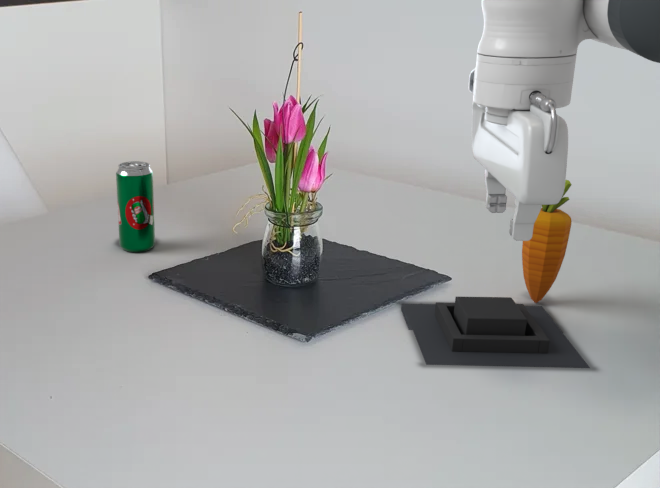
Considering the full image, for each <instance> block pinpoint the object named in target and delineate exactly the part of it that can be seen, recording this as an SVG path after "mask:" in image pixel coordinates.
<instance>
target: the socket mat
mask: <svg viewBox="0 0 660 488" xmlns="http://www.w3.org/2000/svg"><path fill="white" fill-rule="evenodd" d="M516 305H517V306H518V307H519V309H520V310H521V312H522V313H523V314H524V316H525V317H526V319H527V324H526V330H525V336H502V335H461V333H460V331H459V329H458V328H457V326H456V324H455V322H454V320H453V316H454V307H455V302H435V303H401V306H400V310H401V312H402V315H403V318H404V320H405V323H406V326H407V328H408V330H409V331H412V332H413V335H414V337H415V339H416V342H417V345H418V347H419V350H420V353H421V355H422V357H423V360H424V363H425V365H426V366H469V367H470V366H471V367H510V368H513V367H514V368H552V369H553V368H557V369H558V368H559V369H560V368H561V369H591V367H590V366H589V364H588V363H587V362H586V360H585V359H584V358H583V357H582V355H581V354H580V353H579V352H578V350H577V349H576V347H574V345H573V344H572V343H571V341H570V340H569V338H567V336H566V335H565V334H564V332H563V331H562V330H561V328H560V327H559V326H558V324H557V323H556V322H555V321H554V320H553V318H552V317H551V316H550V315H549V313H548V312H547V310H546V309H545V308H544V306H543V305H525V304H523V303H516Z"/></svg>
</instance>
